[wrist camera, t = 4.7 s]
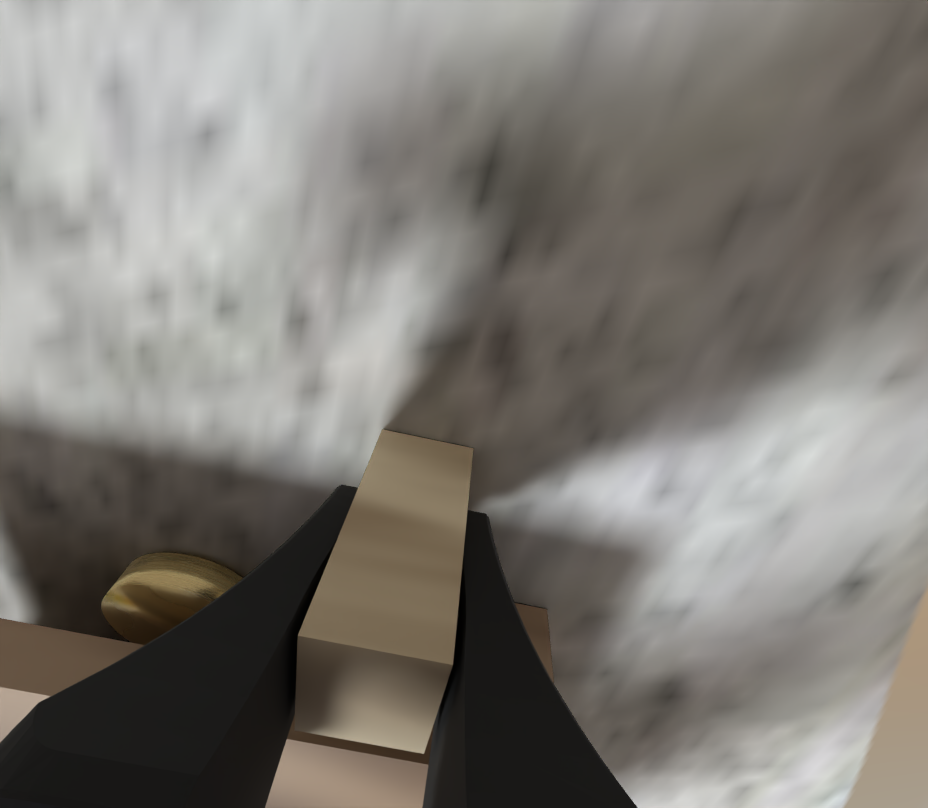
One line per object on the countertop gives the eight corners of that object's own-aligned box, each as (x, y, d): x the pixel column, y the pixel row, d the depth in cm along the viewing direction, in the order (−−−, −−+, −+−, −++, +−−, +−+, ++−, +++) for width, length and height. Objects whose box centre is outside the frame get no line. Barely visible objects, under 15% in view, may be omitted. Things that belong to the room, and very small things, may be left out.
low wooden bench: (482, 751, 21) (476, 914, 16) (23, 667, 20) (-111, 814, 16) (547, 609, 16) (563, 789, 11) (-62, 490, 15) (-292, 634, 11)
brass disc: (295, 614, 17) (282, 647, 16) (211, 646, 19) (194, 677, 18) (180, 534, 15) (157, 566, 14) (98, 579, 17) (72, 610, 16)
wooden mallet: (407, 702, 19) (371, 912, 14) (328, 687, 19) (263, 894, 14) (473, 448, 13) (452, 664, 8) (354, 423, 13) (250, 626, 7)
